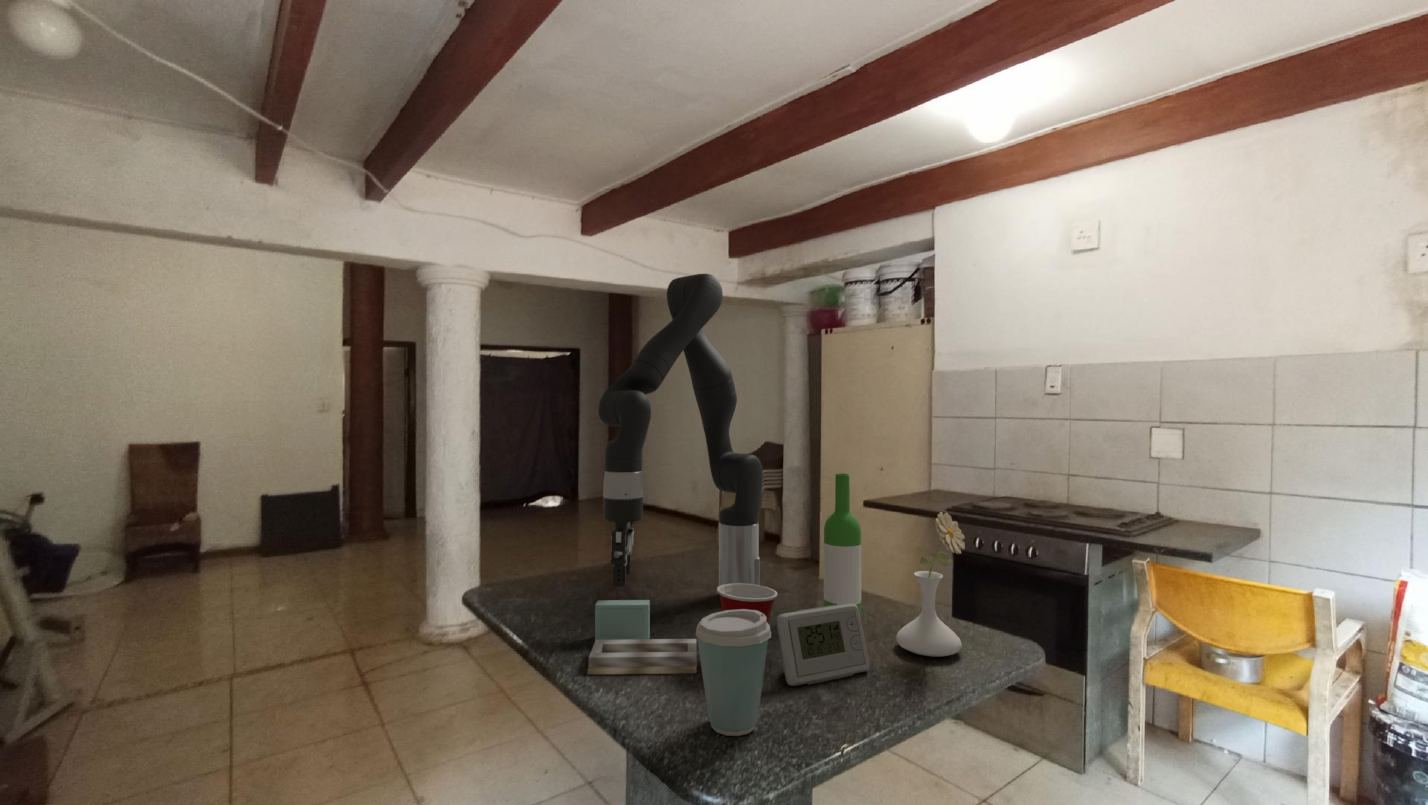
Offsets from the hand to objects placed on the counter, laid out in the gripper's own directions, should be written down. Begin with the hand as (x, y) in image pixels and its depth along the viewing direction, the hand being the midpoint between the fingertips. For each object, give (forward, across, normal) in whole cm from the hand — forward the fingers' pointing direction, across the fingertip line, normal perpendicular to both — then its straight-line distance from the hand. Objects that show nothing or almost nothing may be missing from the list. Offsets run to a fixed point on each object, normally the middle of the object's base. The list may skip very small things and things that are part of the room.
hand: (622, 580), depth 121 cm
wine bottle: (+11, +12, -45) cm, 48 cm away
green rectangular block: (+11, 0, 0) cm, 11 cm away
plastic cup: (+11, -9, -23) cm, 27 cm away
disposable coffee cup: (+12, -33, -19) cm, 40 cm away
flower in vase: (+11, -7, -57) cm, 59 cm away
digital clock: (+11, -17, -35) cm, 41 cm away
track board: (+11, -11, -5) cm, 16 cm away
